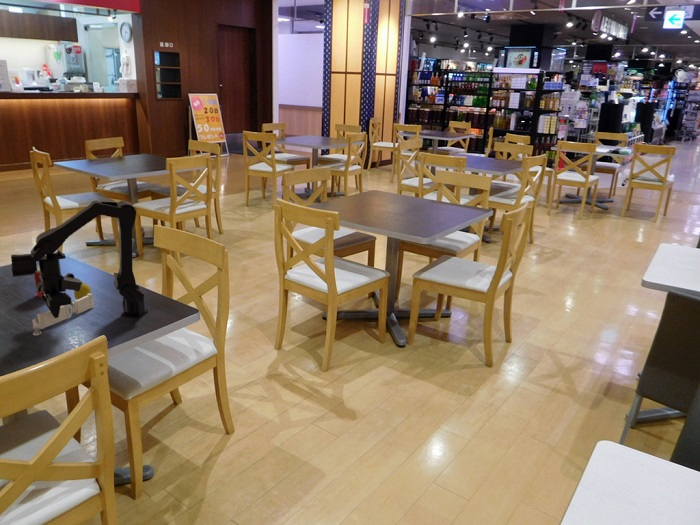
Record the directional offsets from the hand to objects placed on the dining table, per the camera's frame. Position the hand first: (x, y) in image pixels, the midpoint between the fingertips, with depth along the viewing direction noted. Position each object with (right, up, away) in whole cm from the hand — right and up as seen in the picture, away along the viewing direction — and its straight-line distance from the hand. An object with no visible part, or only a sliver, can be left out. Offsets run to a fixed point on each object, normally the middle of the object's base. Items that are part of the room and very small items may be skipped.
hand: (56, 317), depth 178 cm
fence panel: (+3, +1, +13) cm, 14 cm away
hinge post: (+1, 0, +9) cm, 9 cm away
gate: (-2, -2, +2) cm, 4 cm away
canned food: (-16, +6, +25) cm, 30 cm away
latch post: (-4, -5, -5) cm, 8 cm away
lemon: (0, +3, +19) cm, 20 cm away
